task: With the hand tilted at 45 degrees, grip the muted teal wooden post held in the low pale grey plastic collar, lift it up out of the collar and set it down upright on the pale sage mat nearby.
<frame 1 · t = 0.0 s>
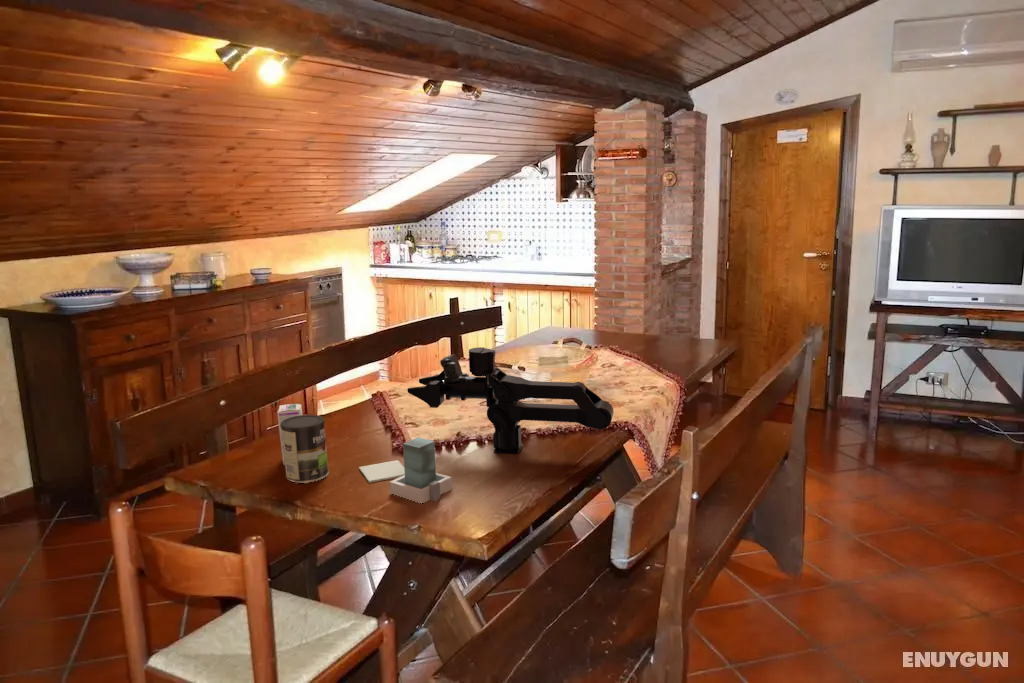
hand: (413, 385, 210), 17 cm above the table, tool horizontal, fingers open, 9 cm apart
post: (421, 491, 182), resting in collar
syrup box: (294, 461, 204), on the table
mat: (384, 472, 194), on the table
coffee can: (307, 476, 194), on the table
collar: (421, 491, 182), on the table
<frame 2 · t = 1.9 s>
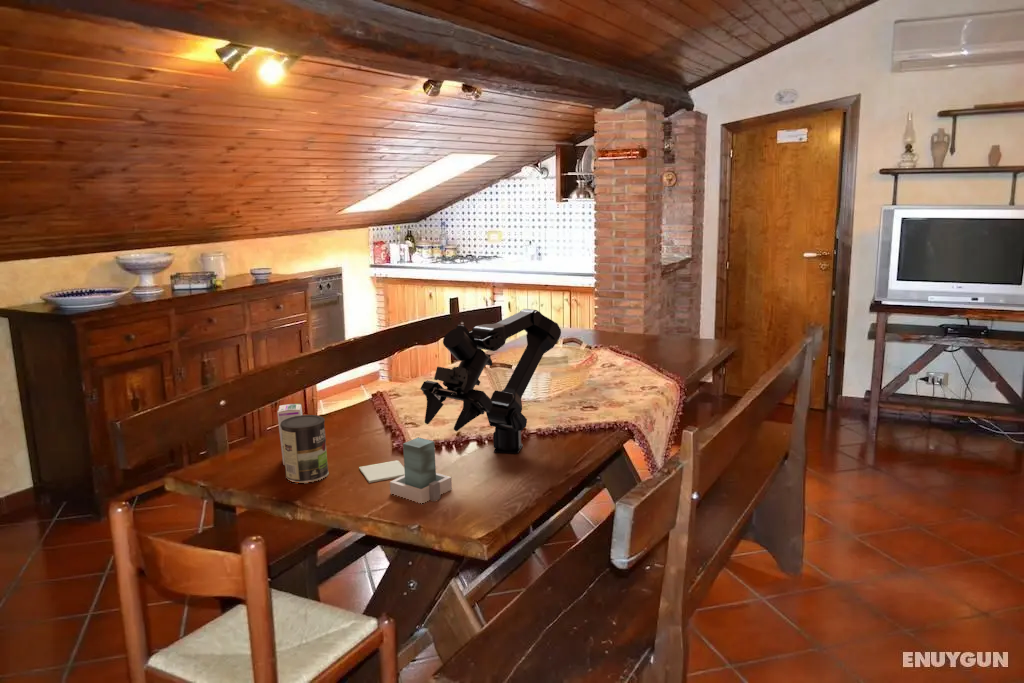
hand: (440, 426, 185), 14 cm above the table, tool tilted 45°, fingers open, 9 cm apart
nothing on the table moved.
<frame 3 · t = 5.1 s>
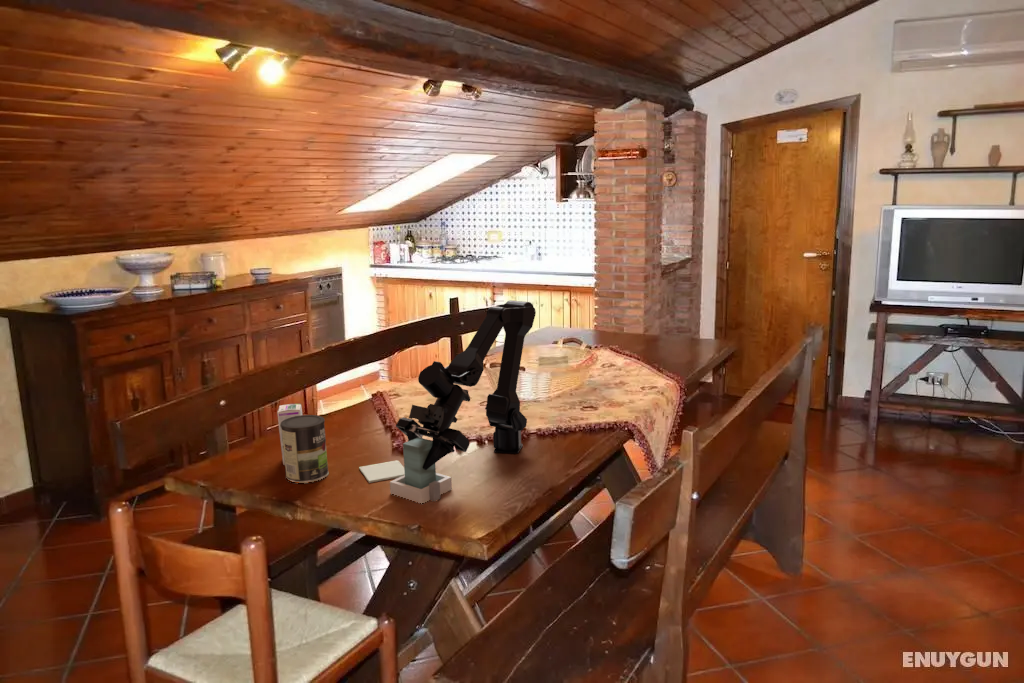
hand: (415, 466, 180), 7 cm above the table, tool tilted 45°, fingers closed on post, 5 cm apart
post: (421, 491, 182), resting in collar, touching gripper
everything else where it was.
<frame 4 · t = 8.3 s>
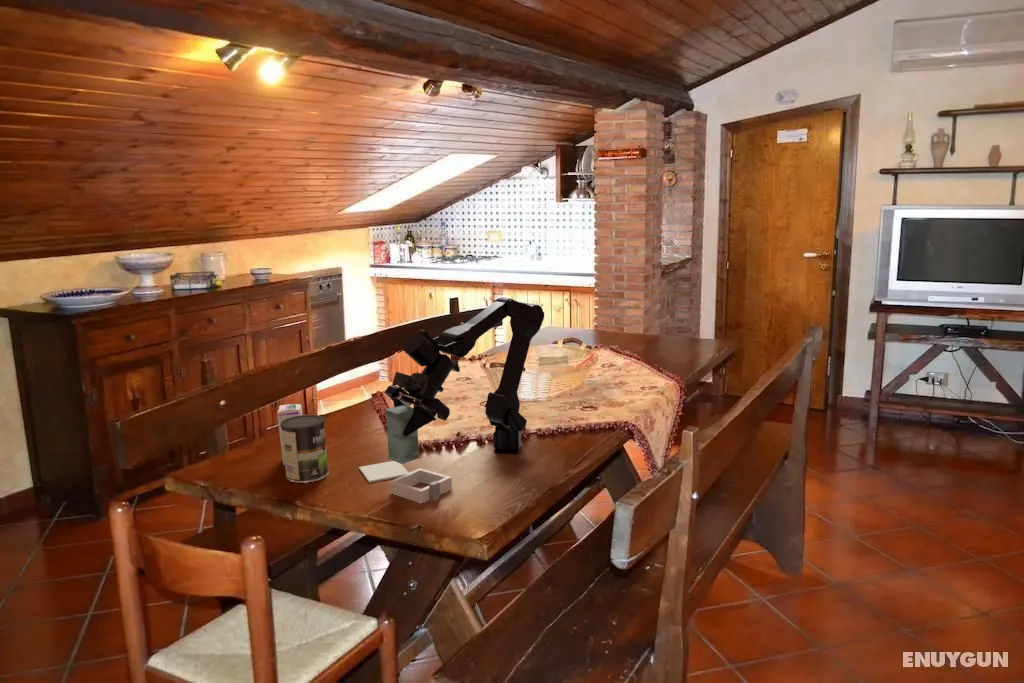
hand: (397, 433, 182), 13 cm above the table, tool tilted 45°, fingers closed on post, 5 cm apart
post: (404, 458, 184), point 7 cm above the table, touching gripper
everything else where it was.
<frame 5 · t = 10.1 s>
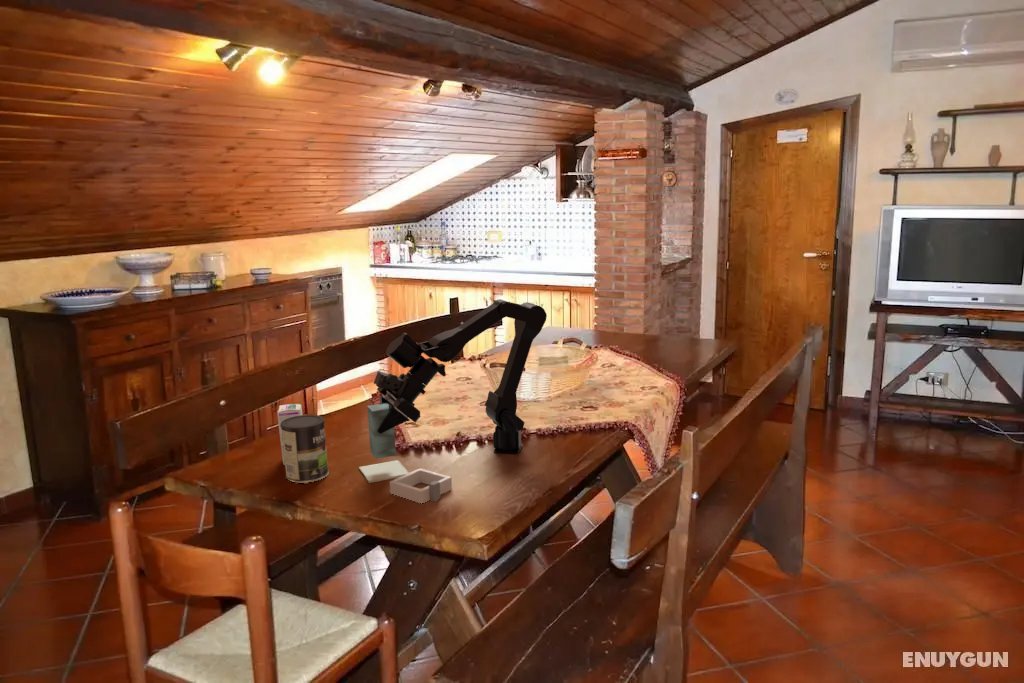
hand: (375, 429, 191), 11 cm above the table, tool tilted 45°, fingers closed on post, 5 cm apart
post: (383, 453, 193), point 5 cm above the table, touching gripper
everything else where it was.
when the fingers open (8 cm above the table, at t = 11.5 s): post drops 1 cm, resting on mat.
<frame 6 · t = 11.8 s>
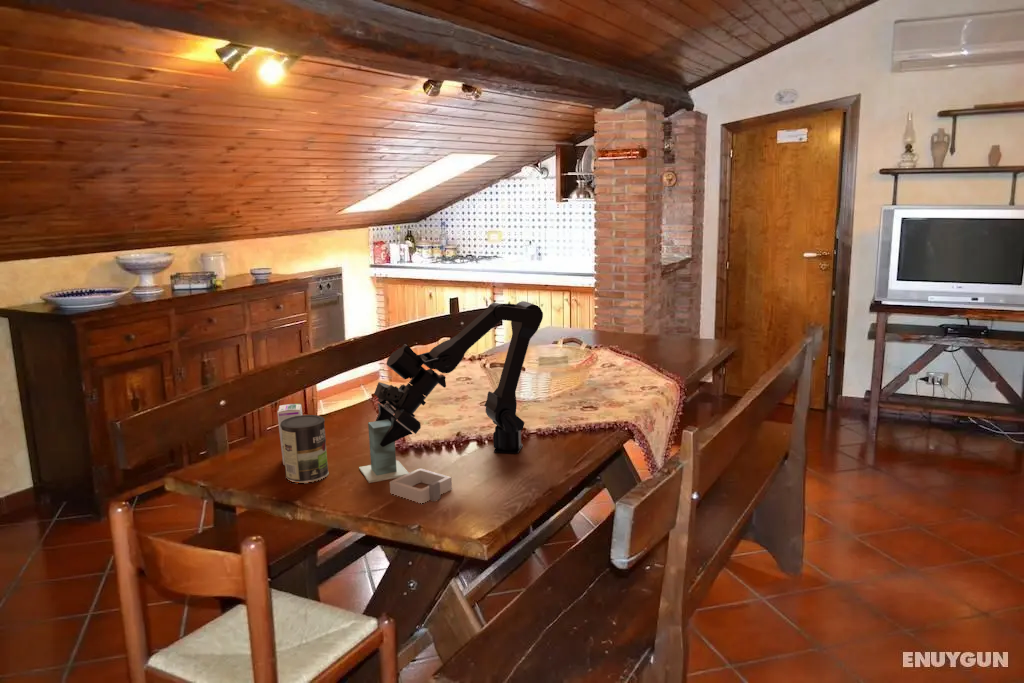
hand: (376, 440, 192), 9 cm above the table, tool tilted 45°, fingers open, 9 cm apart
post: (383, 470, 194), point 1 cm above the table, touching mat
everything else where it was.
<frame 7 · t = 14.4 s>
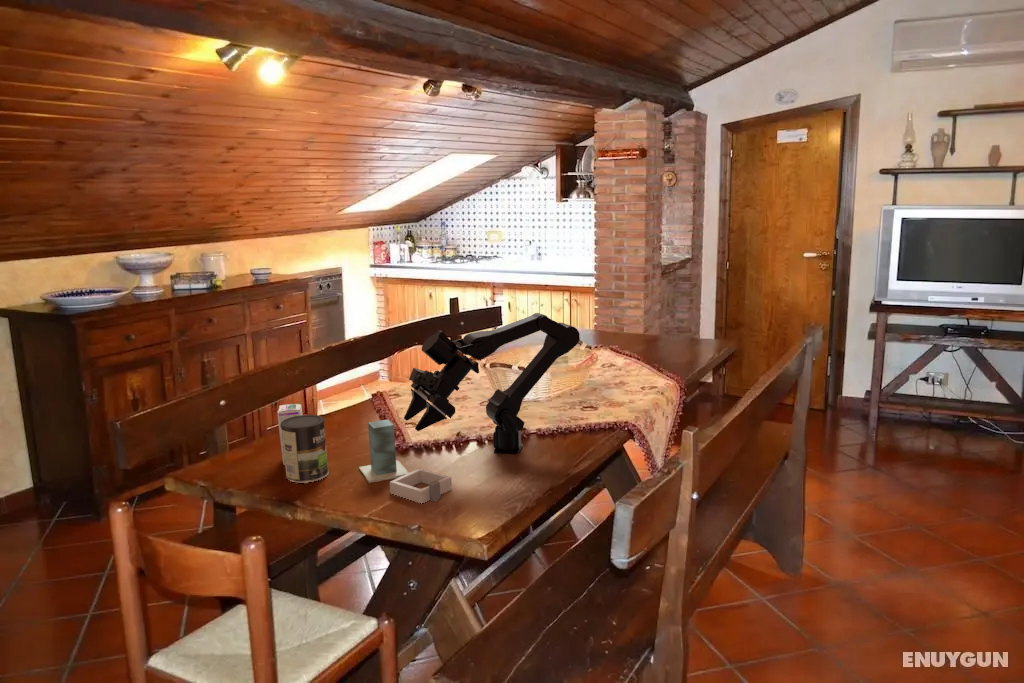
hand: (410, 424, 195), 11 cm above the table, tool tilted 45°, fingers open, 9 cm apart
nothing on the table moved.
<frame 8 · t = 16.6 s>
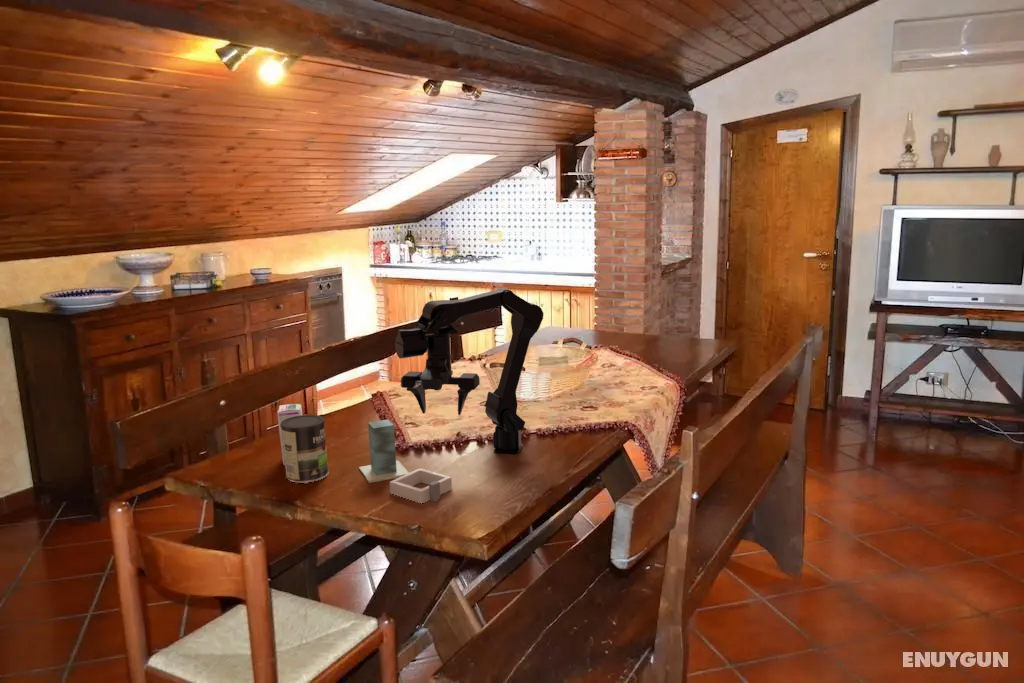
hand: (441, 413, 196), 13 cm above the table, tool pointing down, fingers open, 9 cm apart
nothing on the table moved.
at the end: post inside the target area on the mat (0.0 cm from its centre), point 0.5 cm above the mat's base; post tilted 0°; post touching mat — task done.
